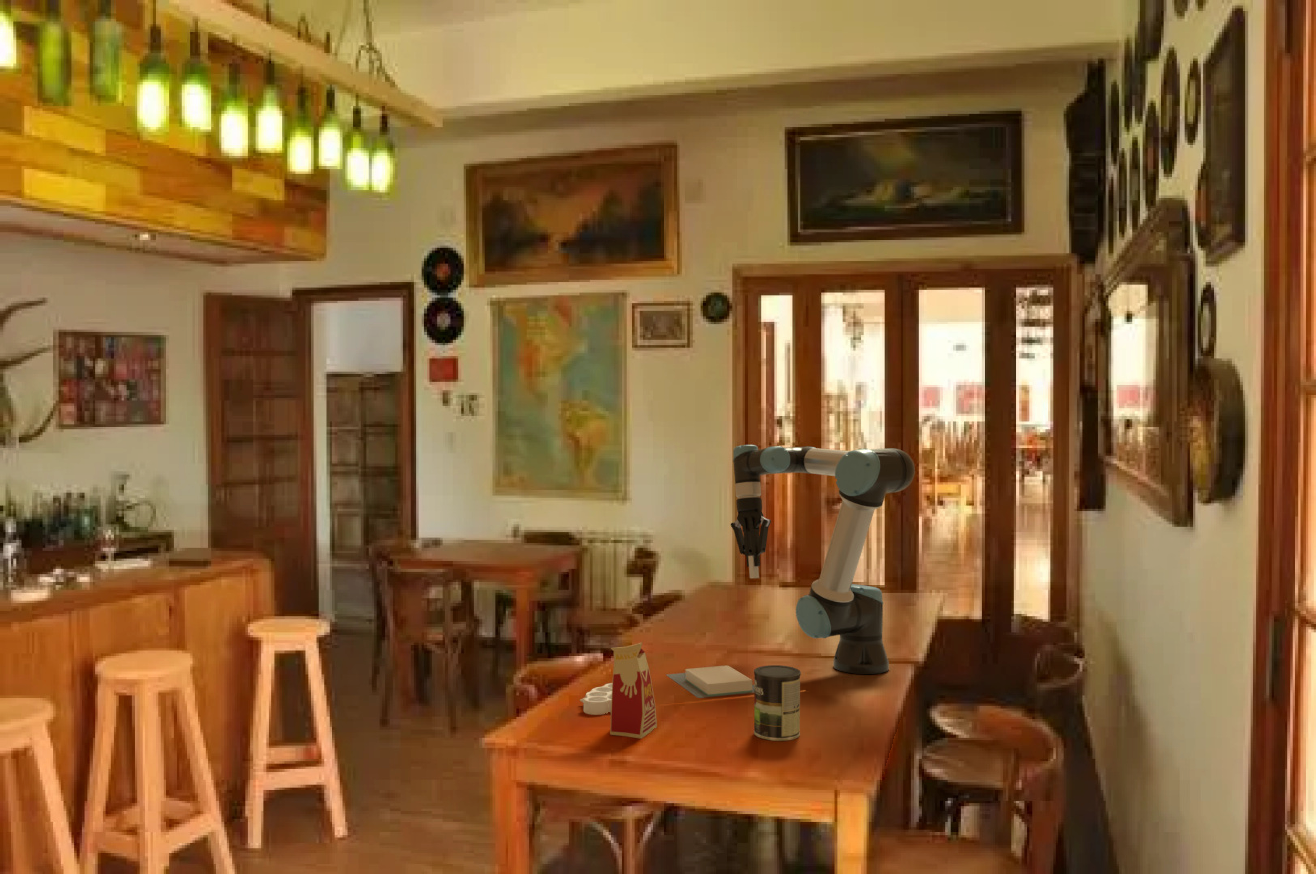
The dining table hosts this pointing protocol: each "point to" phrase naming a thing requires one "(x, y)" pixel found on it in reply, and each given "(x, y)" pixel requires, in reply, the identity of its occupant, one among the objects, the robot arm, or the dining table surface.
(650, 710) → the milk carton
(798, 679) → the coffee can
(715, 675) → the tile
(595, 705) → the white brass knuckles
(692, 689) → the mat
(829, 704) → the dining table surface
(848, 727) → the dining table surface
